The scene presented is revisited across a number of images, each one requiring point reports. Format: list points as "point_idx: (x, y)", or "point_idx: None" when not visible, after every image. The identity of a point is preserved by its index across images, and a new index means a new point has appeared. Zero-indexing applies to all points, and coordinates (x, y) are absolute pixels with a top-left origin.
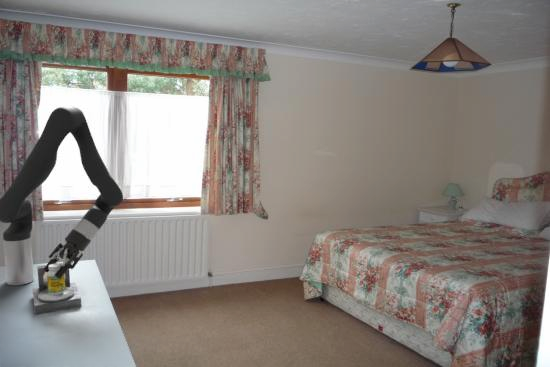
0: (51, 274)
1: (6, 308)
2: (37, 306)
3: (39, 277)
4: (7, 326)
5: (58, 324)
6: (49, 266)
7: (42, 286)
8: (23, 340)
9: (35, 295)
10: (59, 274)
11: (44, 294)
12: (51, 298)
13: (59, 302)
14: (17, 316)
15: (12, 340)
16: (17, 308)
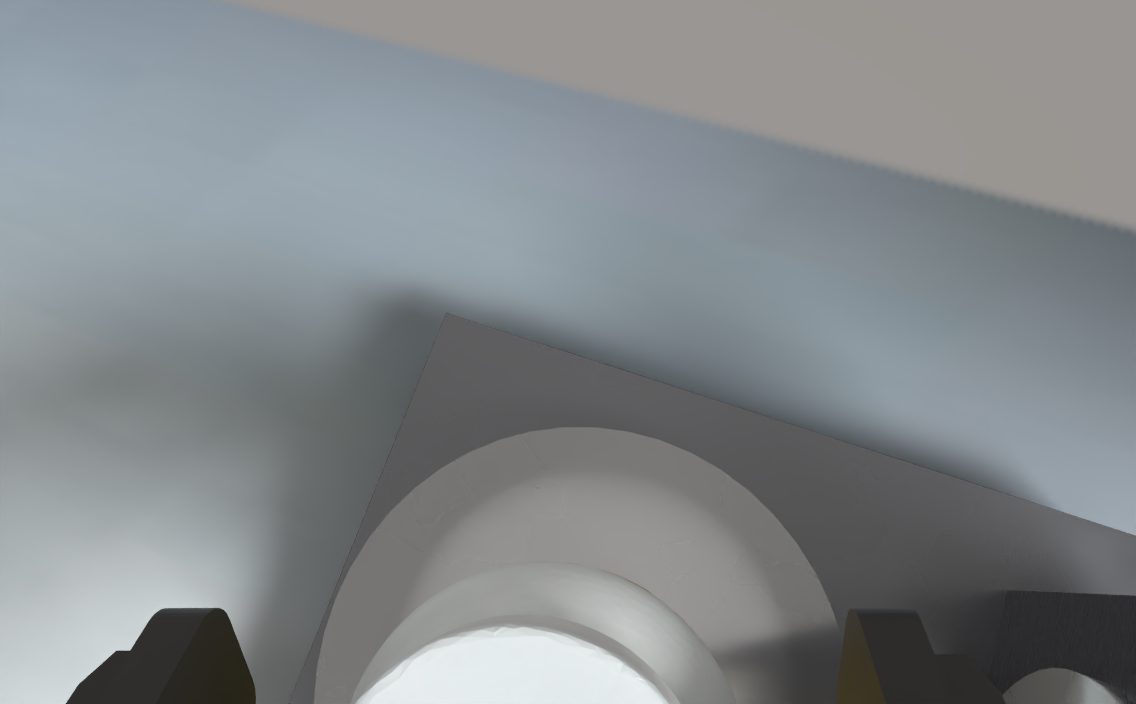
0: (424, 616)
1: (900, 189)
2: (436, 349)
3: (1127, 617)
4: (400, 68)
5: (40, 421)
6: (496, 636)
7: (1025, 647)
8: (10, 81)
9: (827, 466)
10: (87, 698)
11: (626, 517)
12: (386, 521)
13: (332, 605)
14: (571, 203)
15: (86, 21)
16: (810, 274)
